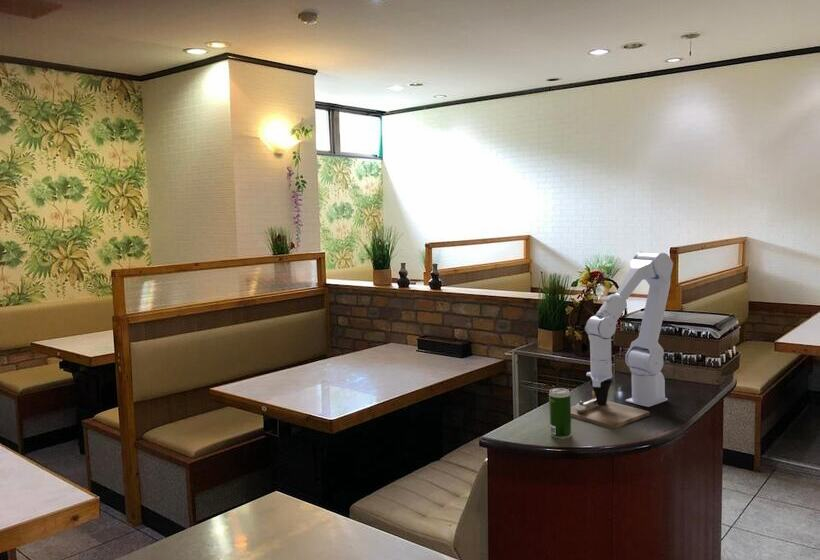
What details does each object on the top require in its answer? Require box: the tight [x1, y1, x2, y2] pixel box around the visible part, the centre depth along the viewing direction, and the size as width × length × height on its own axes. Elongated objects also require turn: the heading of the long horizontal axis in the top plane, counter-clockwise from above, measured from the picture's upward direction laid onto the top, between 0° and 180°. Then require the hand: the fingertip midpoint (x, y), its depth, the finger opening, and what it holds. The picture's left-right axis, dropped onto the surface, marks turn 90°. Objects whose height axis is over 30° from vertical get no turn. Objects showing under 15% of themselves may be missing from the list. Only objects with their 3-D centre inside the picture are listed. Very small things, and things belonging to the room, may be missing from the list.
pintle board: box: [571, 390, 651, 430], centre depth 184 cm, size 16×18×4 cm
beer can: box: [548, 387, 572, 440], centre depth 169 cm, size 5×5×12 cm
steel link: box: [575, 398, 607, 413], centre depth 186 cm, size 12×3×3 cm, turn 128°
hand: (601, 405), depth 186 cm, fingers closed, pressing on steel link
